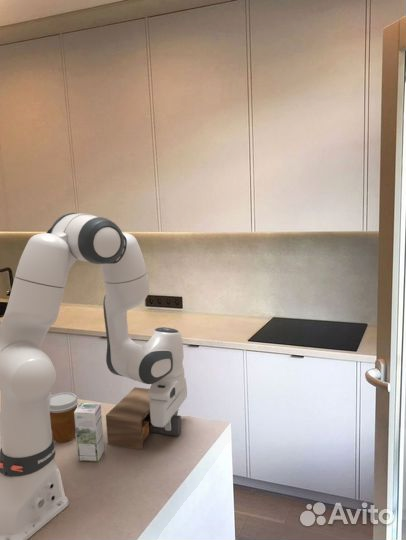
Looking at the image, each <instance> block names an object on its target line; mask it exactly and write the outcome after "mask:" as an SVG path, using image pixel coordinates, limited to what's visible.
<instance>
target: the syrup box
mask: <svg viewBox="0 0 406 540" xmlns="http://www.w3.org/2000/svg"><path fill="white" fill-rule="evenodd" d="M74 417H75V428H76V436H75V439H76V448H77V460H78V462H99V461H100V460H101V457H102V455H103V454H104V452H105V446H104V445H105V443H104V431H103V416H102V405H101V403H100V402H99V403H97V402H81V403H79V404H78V405H77V408H76V410H75V412H74Z"/></svg>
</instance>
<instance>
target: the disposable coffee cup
mask: <svg viewBox="0 0 406 540" xmlns="http://www.w3.org/2000/svg"><path fill="white" fill-rule="evenodd" d="M79 402H80V401H79V398H78V397H77V395H76V394H75V393H73V392H60V393H58V392H57V393H55V394H53V395H52V394H51V399H50V421H51V432H52V437H53V438H54V442H56V443H66V442H69V441H72V440H73V439H74V438H76V428H75V417H74V412H75V410H76V408H77V407H78V406H79Z"/></svg>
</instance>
